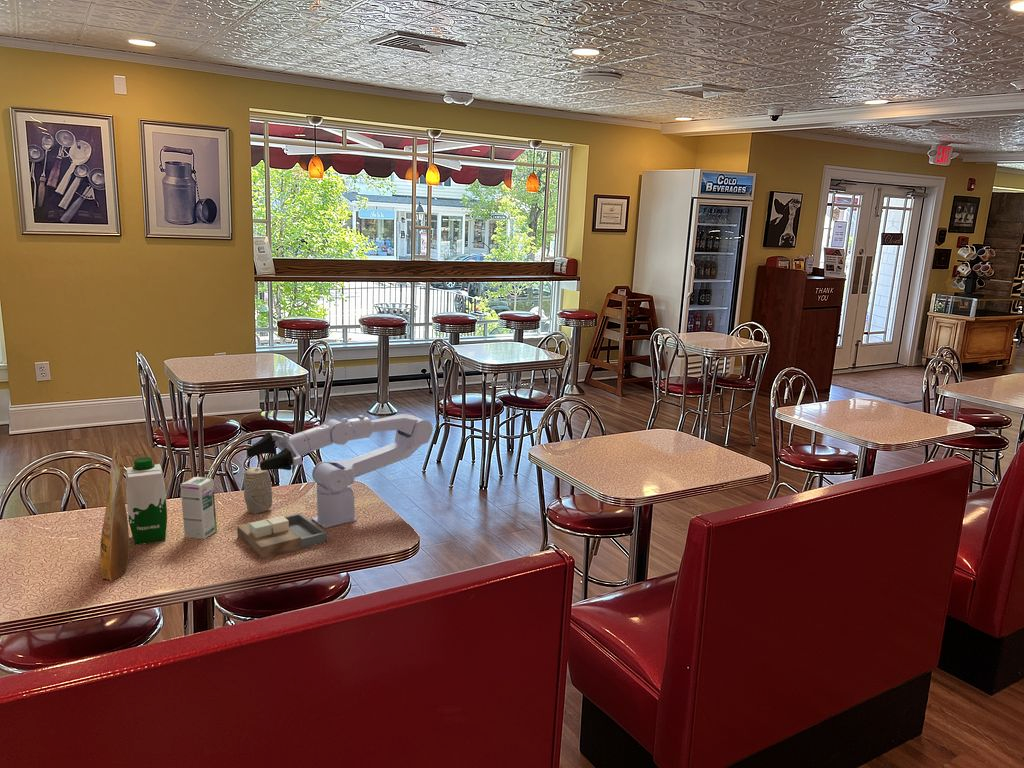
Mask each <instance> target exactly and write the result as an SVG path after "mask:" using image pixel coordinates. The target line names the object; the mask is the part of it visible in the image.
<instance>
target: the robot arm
mask: <svg viewBox="0 0 1024 768" xmlns="http://www.w3.org/2000/svg"><path fill="white" fill-rule="evenodd" d="M433 429H434V428H433V424H432V423H431V421H430V420H428V419H423V418H421V417H418V416H415V415H413V414H412V413H405V414H404V413H400V414H399V413H398V414H397V415H391V416H387V417H382V418H376V419H370V418H369V417H367V416H365V415H363V414H360V415H359V414H358V415H357V417H352V418H346V417H344V418H341V419H340V420H337V419H333V418H332V419H330V418H327V419H326V420H324V422H322V424H320V425H318V426H315V427H314V426H313V427H312V428H309V429H306V430H303V431H300V432H297V433H294V434H291V435H289V434H287V433H283V435H282V434H278V433H277V432H273V433H271V432H266V433H265V435H263V437H261V439H259V440H258V441H257V442H255V443H254V444H252V445H251V446H249V447H247V448H246V456H247V457H250V458H251V457H255V456H259V455H264V454H266V455H267V454H273V456H270V457H268V458H265V459H264V460H262V461H260V462H259V465H260V466H259V468H261V470H268V471H269V470H270V471H271V470H285V471H291V470H292V468H293V467H292V466H294V467H297V466H300V465H303V459H302V456H303V455H305V454H309V453H312V452H314V451H317V450H320V449H323V448H325V447H328V446H331V445H333V444H336V445H342V446H343V445H345V444H347V443H348V442H349V441H354V440H360V439H366V438H369V437H371V436H372V434H373V433H381V432H389V431H390V432H391V431H395V437H394V442H392V443H390V444H386V445H384V446H382V447H379V448H375V449H373V450H370V451H368V452H365V453H363V454H360V455H357V456H354V457H351V458H348V459H343V460H341V459H340V460H339V459H337V460H332V461H325V460H324V461H320V462H318V463H317V464H315V466H314V467H313V469H312V472H311V477H312V480H313V481H314V483H316V506H317V507H316V508H317V509H316V510H317V512H316V514H317V515H315V516H312V517H311V521H314V523H316V524H318V525H319V526H321V528H322V529H325V528H327V529H328V528H331V527H335V526H338V525H342V524H347V523H350V522H354V521H357V518H356V517H355V516H356V515H355V509H356V508H355V507H356V506H355V494H354V491H353V488H352V487H351V486H350V485H353V484H354V482H355V479H356V478H358V477H361V476H363V475H366V474H369V473H371V472H374V471H377V470H379V469H382V468H384V467H387V466H390V465H392V464H394V463H397V462H400V461H403V460H405V459H408V458H410V457H411V455H413V454H414V453H415V452H416V451H417V450H418V449H420V447H422V446H424V445H425V444H428V443H429V442H430V439H431V437H432V435H433ZM276 448H278V449H279V450H280V451H279V452H278V453H277V454H276Z"/></svg>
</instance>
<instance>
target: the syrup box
mask: <svg viewBox="0 0 1024 768" xmlns="http://www.w3.org/2000/svg"><path fill="white" fill-rule="evenodd" d="M180 496H181V508H182V509H181V510H182V519H183V530H184V531H183V532H184V533H183V535H184V538H190V539H196V540H197V539H198V540H205V539H207V538H209V537H210V536H212V535H213V534H214V533H215V532H217V531H218V527H217V516H216V515H217V514H216V512H217V511H216V502H215V485H214V479H213V478H211V477H204V476H193V477H191V478H190V479H188V480H187V481H184V482H182V483H180Z"/></svg>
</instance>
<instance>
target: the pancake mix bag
mask: <svg viewBox="0 0 1024 768" xmlns="http://www.w3.org/2000/svg"><path fill="white" fill-rule="evenodd" d="M111 444H112V447H113V448H112V456H111V457H112V458H111V464H110V473H109V474H110V475H109V476H110V477H109V488H108V491H107V492H108V493H107V499H106V505H105V512H104V515H103V516H104V517H103V523H102V531H101V536H100V537H101V538H100V545H99V549H100V551H99V554H100V555H99V559H100V561H99V562H100V573H101V577H102V579H106V580H105V581H110V583H114V582H115V580H116V581H118V580H119V578H120V579H122V578H123V577H124V576H125V575H126V573H127V572H126V571H127V568H128V564H129V557H130V532H129V531H130V530H129V528H130V527H129V519H128V511H127V507H126V506H127V505H126V502H125V498H124V493H123V487H122V480H123V477H124V475H125V461H124V460H123V458H122V454H121V447H120V445H118V444H117V443H116V441H113V442H112V443H111ZM124 574H125V575H124ZM123 575H124V576H123ZM122 576H123V577H122ZM121 577H122V578H121ZM117 579H118V580H117Z"/></svg>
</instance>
